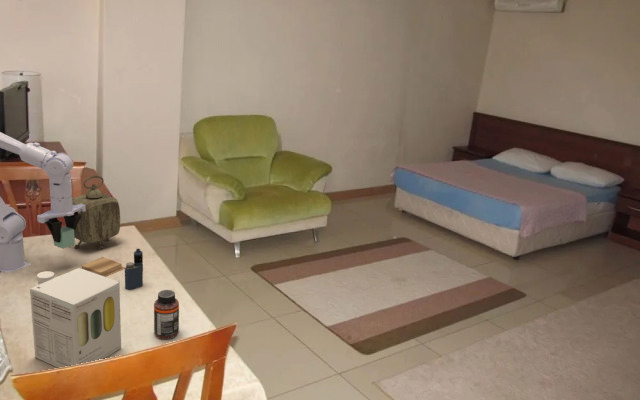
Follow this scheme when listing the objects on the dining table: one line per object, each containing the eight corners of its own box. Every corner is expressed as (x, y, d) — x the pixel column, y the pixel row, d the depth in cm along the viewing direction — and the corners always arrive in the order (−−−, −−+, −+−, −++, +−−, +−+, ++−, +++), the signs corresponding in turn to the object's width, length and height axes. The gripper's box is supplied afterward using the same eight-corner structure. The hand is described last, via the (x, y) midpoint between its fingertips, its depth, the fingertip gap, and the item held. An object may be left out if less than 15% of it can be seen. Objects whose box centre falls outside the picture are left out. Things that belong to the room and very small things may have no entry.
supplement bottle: (156, 326, 135) (156, 286, 131) (180, 327, 135) (181, 287, 132) (151, 339, 129) (151, 298, 126) (176, 340, 130) (176, 299, 126)
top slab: (81, 269, 159) (81, 265, 159) (102, 261, 166) (102, 256, 166) (100, 277, 156) (100, 272, 155) (121, 268, 163) (121, 263, 162)
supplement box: (76, 377, 113) (72, 305, 108) (33, 358, 118) (28, 287, 113) (122, 348, 125) (121, 281, 119) (82, 331, 130) (79, 266, 125)
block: (54, 245, 156) (53, 229, 155) (65, 241, 160) (65, 226, 158) (63, 248, 155) (62, 232, 153) (74, 244, 158) (74, 229, 157)
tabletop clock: (108, 238, 185) (106, 169, 177) (123, 246, 180) (122, 175, 172) (68, 249, 174) (64, 176, 166) (83, 257, 169) (80, 183, 161)
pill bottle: (49, 314, 135) (47, 280, 132) (31, 311, 136) (28, 276, 133) (63, 305, 140) (61, 272, 138) (45, 301, 141) (43, 268, 138)
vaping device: (144, 287, 154) (144, 249, 150) (127, 292, 150) (127, 254, 146) (140, 284, 155) (140, 246, 152) (123, 289, 151) (122, 250, 148)
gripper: (47, 204, 145) (50, 250, 149) (91, 193, 157) (93, 235, 161) (31, 199, 148) (34, 243, 152) (75, 188, 160) (77, 230, 164)
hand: (63, 239), depth 157 cm, fingers closed on block, 4 cm apart
